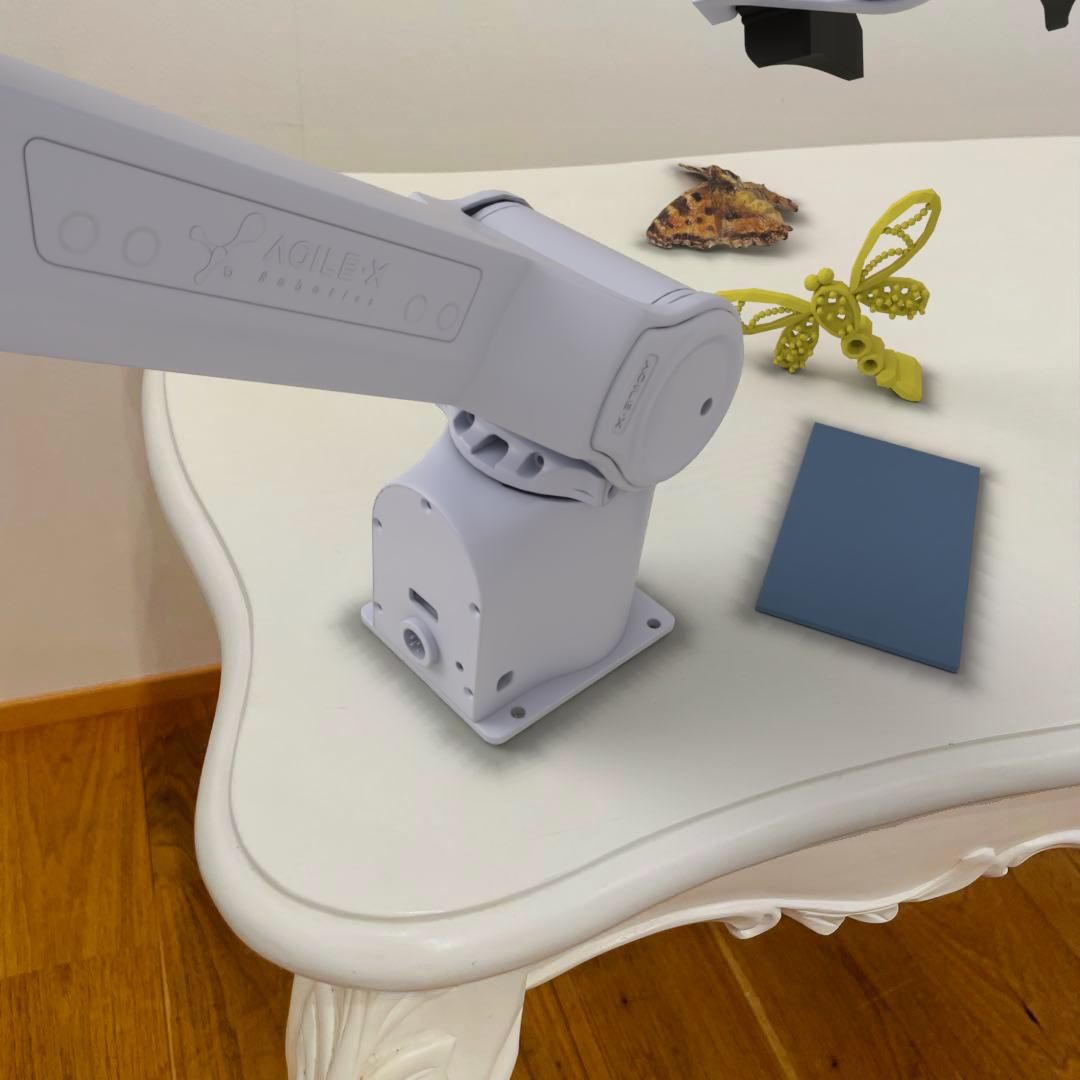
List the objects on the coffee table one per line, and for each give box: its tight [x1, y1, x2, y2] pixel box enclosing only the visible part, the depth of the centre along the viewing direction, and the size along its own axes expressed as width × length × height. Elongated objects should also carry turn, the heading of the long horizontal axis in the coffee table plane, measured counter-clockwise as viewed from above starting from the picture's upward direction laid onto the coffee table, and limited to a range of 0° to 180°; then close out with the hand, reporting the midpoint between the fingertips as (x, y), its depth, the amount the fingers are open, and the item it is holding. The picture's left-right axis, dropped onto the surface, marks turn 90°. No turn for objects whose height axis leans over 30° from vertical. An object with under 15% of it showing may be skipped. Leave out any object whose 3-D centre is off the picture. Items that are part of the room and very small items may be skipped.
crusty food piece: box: [645, 162, 799, 250], centre depth 70 cm, size 9×12×3 cm
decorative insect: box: [713, 188, 942, 402], centre depth 56 cm, size 13×3×10 cm
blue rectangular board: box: [754, 421, 981, 674], centre depth 48 cm, size 14×8×1 cm, turn 160°
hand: (951, 31), depth 44 cm, fingers open, 7 cm apart
